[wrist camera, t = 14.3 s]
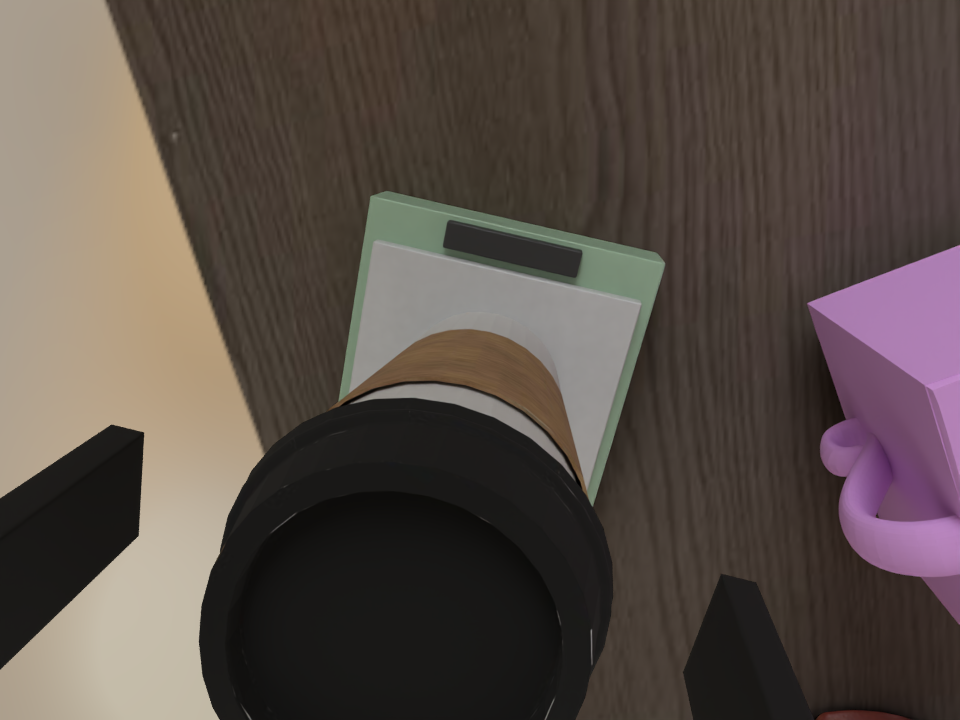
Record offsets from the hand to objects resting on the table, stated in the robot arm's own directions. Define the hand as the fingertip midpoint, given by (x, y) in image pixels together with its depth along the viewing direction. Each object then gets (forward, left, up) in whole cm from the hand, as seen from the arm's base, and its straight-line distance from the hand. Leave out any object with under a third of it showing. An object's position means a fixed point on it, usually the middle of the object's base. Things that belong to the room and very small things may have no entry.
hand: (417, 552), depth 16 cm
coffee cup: (0, 0, -12) cm, 12 cm away
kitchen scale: (0, 0, -15) cm, 15 cm away
